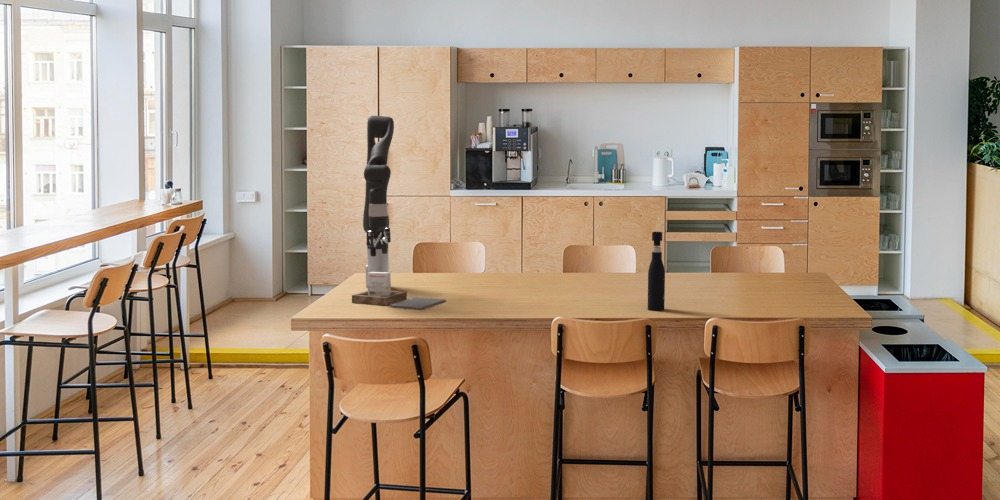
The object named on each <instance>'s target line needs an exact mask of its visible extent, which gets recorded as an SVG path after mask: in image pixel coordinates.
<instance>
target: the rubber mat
mask: <svg viewBox="0 0 1000 500" xmlns="http://www.w3.org/2000/svg"><path fill="white" fill-rule="evenodd" d="M445 302H447V300H446V299H444V298H443V299H441V298H430V297H418V296H415V297H411V298H409V299H408V298H407V299H406V300H403V301H400V302H396V303H393V304H390V305H389V308H397V309H406V310H418V311H420V310H425V309H427V308H431V307H434V306H437V305H439V304H443V303H445Z"/></svg>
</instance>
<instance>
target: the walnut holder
mask: <svg viewBox="0 0 1000 500" xmlns="http://www.w3.org/2000/svg"><path fill="white" fill-rule="evenodd" d="M405 300H408V295H407V291H398V290H391V295H389V296H386V297H378V296H368V290H366V291H362V292H358V293H356V294H351V303H353V304H363V305H373V306H374V305H376V306H390V305H392V304H395V303H398V302H401V301H405Z"/></svg>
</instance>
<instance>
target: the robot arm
mask: <svg viewBox="0 0 1000 500" xmlns="http://www.w3.org/2000/svg"><path fill="white" fill-rule="evenodd" d="M394 130H395V121H394V119H393V117H390V116H382V115H370V116H369V117H368V118H367V124H366V136H367V137H366V139H367V142H366V143H367V145H366V146H367V147H366V148H367V153H366V156H367V157H366V165H365V167H364V172H363V178H364V180H365V197H364V206H363V207H364V209H363V214H362V228H363V231H364V233H366V254H367V258H366V259H367V265H365V288H368V273H369V272H390V271H389V270H390V268H389V267H390V263H389V261H390V260H389V259H390V258H389V254H390V253H389V243H391V241H392V239H391V228H390V217H389V214H388V211H389V210H388V201H387V199H388V198H387V196H388V195H387V193H388V186H389V183H390V179H391V174H392V173H391V172H392V171H391V168H390V167H389V165H388V157H389V150H390V147H391V143H392V140H393V136H394ZM375 139H380V140H379V141H378V142H376V140H375Z"/></svg>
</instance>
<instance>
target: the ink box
mask: <svg viewBox="0 0 1000 500" xmlns="http://www.w3.org/2000/svg"><path fill="white" fill-rule="evenodd" d="M391 280H392V278H391V272H390V271H389V272H369V273H368V287H367V291H368V296H378V297H386V296H389V295H391V291H392V284H391Z"/></svg>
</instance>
